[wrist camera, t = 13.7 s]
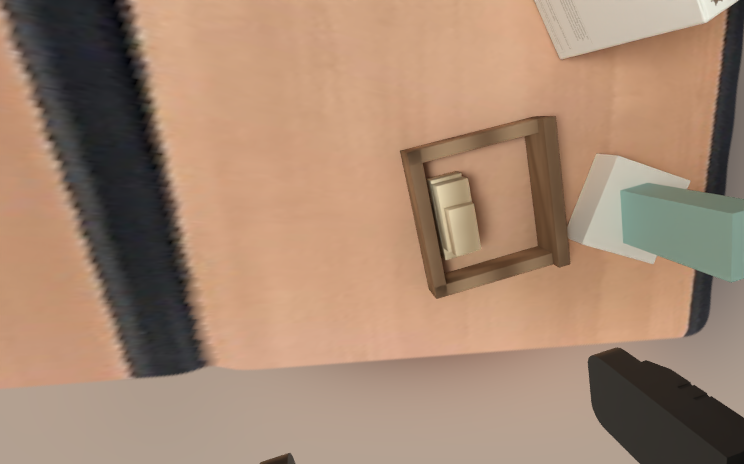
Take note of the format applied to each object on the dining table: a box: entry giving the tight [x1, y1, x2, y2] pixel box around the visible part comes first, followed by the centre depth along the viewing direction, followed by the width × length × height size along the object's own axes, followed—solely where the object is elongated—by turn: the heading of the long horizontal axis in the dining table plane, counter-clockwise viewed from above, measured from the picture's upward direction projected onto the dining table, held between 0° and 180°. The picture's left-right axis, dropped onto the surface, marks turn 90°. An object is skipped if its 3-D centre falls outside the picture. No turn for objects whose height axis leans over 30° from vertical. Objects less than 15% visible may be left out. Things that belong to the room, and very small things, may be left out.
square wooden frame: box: [400, 116, 570, 299], centre depth 40 cm, size 14×14×4 cm
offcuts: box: [426, 171, 481, 260], centre depth 40 cm, size 3×8×4 cm, turn 13°
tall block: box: [620, 183, 744, 282], centre depth 36 cm, size 3×6×11 cm, turn 13°
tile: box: [567, 153, 690, 264], centre depth 43 cm, size 9×9×3 cm
